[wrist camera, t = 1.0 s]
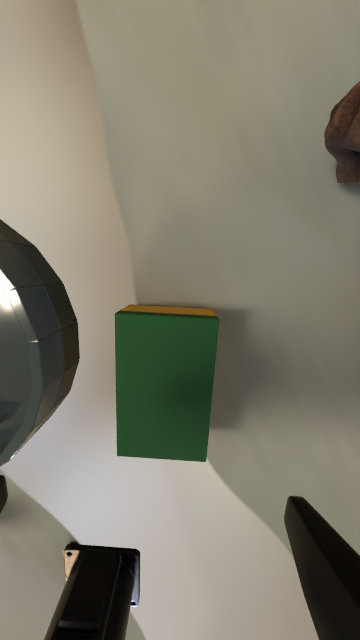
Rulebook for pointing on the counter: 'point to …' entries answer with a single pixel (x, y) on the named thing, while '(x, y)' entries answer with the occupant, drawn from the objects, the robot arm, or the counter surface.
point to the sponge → (164, 381)
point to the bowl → (31, 342)
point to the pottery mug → (345, 136)
